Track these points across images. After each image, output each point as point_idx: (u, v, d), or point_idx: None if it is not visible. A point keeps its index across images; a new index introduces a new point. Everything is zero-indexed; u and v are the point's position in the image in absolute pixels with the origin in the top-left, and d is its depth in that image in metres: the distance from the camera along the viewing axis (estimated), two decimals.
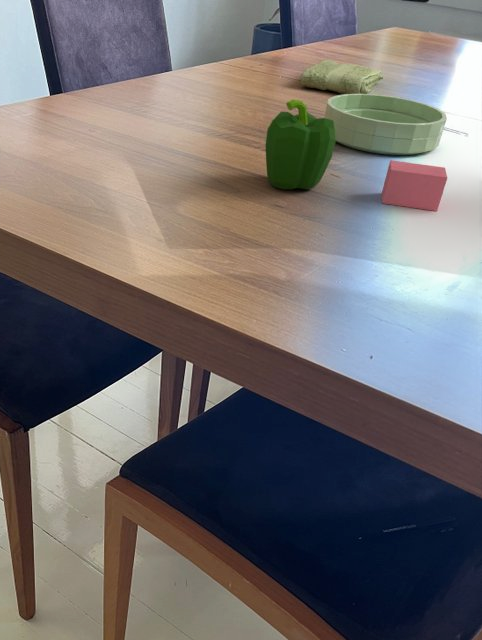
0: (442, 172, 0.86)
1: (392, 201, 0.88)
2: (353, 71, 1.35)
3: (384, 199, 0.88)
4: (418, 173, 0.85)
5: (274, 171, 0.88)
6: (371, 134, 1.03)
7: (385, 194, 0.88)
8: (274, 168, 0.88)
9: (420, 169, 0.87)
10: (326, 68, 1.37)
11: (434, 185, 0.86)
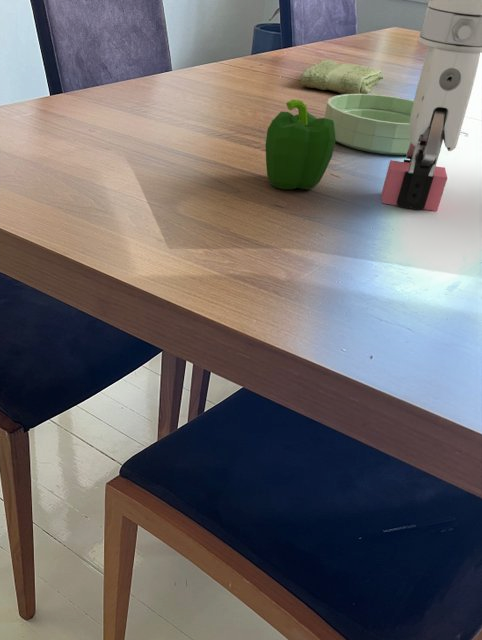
0: (442, 172, 0.86)
1: (392, 201, 0.88)
2: (353, 71, 1.35)
3: (384, 199, 0.88)
4: None
5: (274, 171, 0.88)
6: (371, 134, 1.03)
7: (385, 194, 0.88)
8: (274, 168, 0.88)
9: None
10: (326, 68, 1.37)
11: (434, 186, 0.86)
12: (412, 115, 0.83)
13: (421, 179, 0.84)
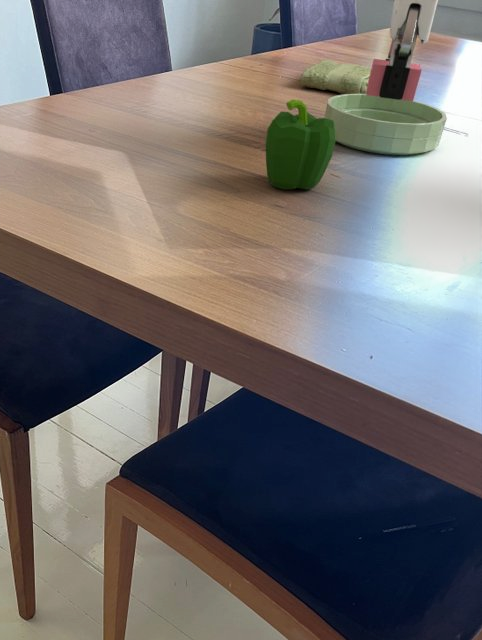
0: (417, 67, 1.01)
1: (375, 93, 1.03)
2: (353, 71, 1.35)
3: (368, 91, 1.03)
4: None
5: (274, 171, 0.88)
6: (371, 134, 1.03)
7: (369, 86, 1.02)
8: (274, 168, 0.88)
9: None
10: (326, 68, 1.37)
11: (410, 77, 1.01)
12: (392, 15, 0.98)
13: (399, 71, 0.99)
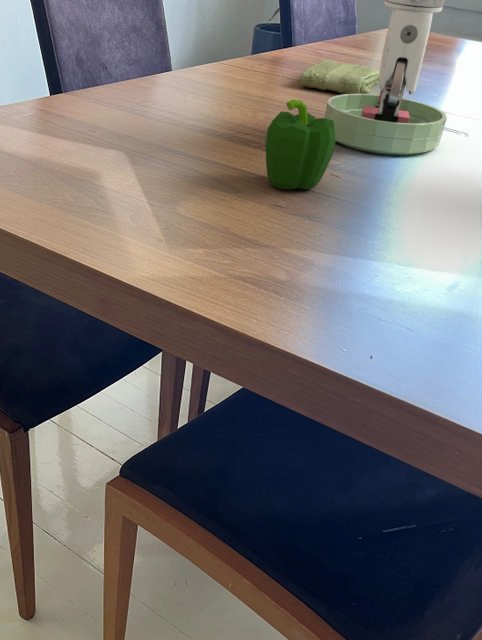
0: (405, 114, 1.05)
1: None
2: (353, 71, 1.35)
3: None
4: None
5: (274, 171, 0.88)
6: (371, 134, 1.03)
7: None
8: (274, 168, 0.88)
9: None
10: (326, 68, 1.37)
11: None
12: None
13: (388, 119, 1.03)
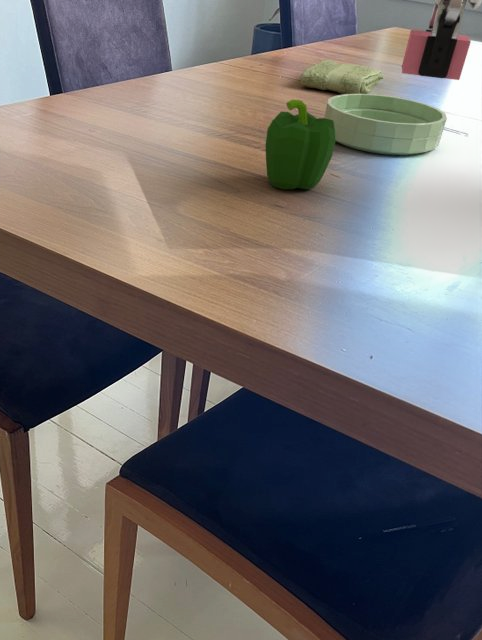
0: (465, 38, 0.83)
1: (412, 70, 0.85)
2: (353, 71, 1.35)
3: (404, 68, 0.85)
4: None
5: (274, 171, 0.88)
6: (371, 134, 1.03)
7: (405, 63, 0.85)
8: (274, 168, 0.88)
9: None
10: (326, 68, 1.37)
11: (456, 51, 0.83)
12: None
13: (444, 42, 0.82)
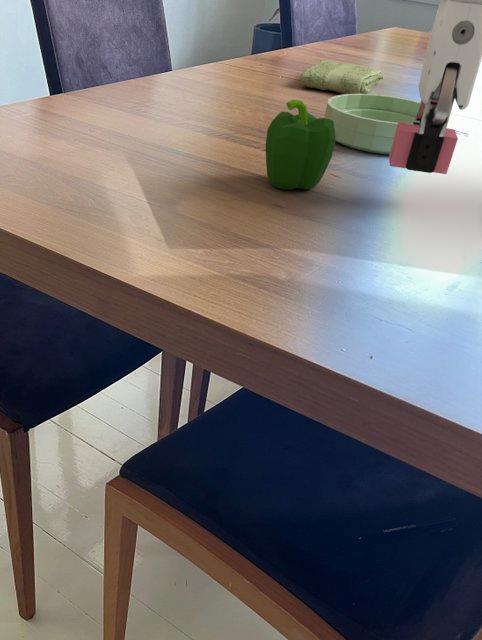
0: (452, 133, 0.84)
1: (400, 164, 0.85)
2: (353, 71, 1.35)
3: (392, 162, 0.85)
4: None
5: (274, 171, 0.88)
6: (371, 134, 1.03)
7: (393, 156, 0.85)
8: (274, 168, 0.88)
9: None
10: (326, 68, 1.37)
11: (443, 147, 0.83)
12: (423, 73, 0.81)
13: (432, 140, 0.82)
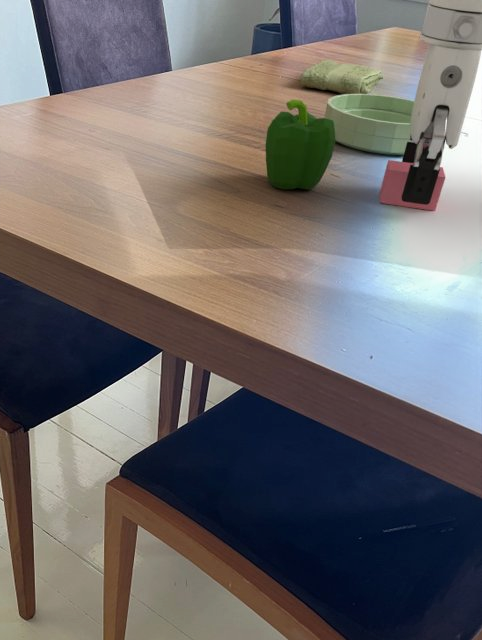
0: (440, 172, 0.86)
1: (390, 201, 0.88)
2: (353, 71, 1.35)
3: (382, 199, 0.88)
4: None
5: (274, 171, 0.88)
6: (371, 134, 1.03)
7: (383, 194, 0.88)
8: (274, 168, 0.88)
9: None
10: (326, 68, 1.37)
11: None
12: (413, 113, 0.83)
13: (427, 173, 0.82)
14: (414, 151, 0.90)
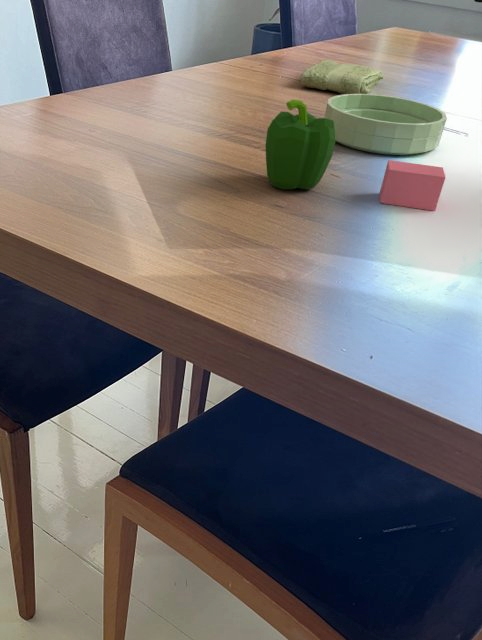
0: (440, 172, 0.86)
1: (390, 201, 0.88)
2: (353, 71, 1.35)
3: (382, 199, 0.88)
4: (416, 173, 0.85)
5: (274, 171, 0.88)
6: (371, 134, 1.03)
7: (383, 194, 0.88)
8: (274, 168, 0.88)
9: (418, 169, 0.87)
10: (326, 68, 1.37)
11: (432, 185, 0.86)
12: None
13: None
14: None
